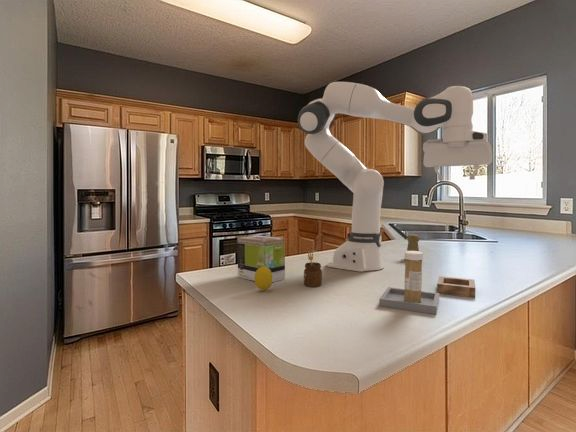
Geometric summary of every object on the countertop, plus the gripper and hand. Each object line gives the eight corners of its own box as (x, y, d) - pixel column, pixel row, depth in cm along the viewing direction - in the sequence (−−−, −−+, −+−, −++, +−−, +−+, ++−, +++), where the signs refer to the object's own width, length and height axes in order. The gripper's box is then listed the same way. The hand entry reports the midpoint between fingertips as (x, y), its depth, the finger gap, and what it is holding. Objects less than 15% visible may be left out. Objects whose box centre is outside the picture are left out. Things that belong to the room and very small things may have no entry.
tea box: (286, 279, 118) (285, 237, 117) (265, 285, 111) (264, 240, 109) (257, 272, 128) (257, 234, 127) (236, 277, 121) (236, 236, 120)
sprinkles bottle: (403, 297, 94) (404, 249, 93) (421, 298, 93) (422, 250, 92) (404, 302, 90) (405, 252, 89) (422, 304, 88) (423, 253, 87)
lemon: (254, 288, 106) (254, 264, 106) (272, 288, 107) (271, 263, 106) (254, 294, 101) (254, 268, 100) (272, 293, 101) (272, 267, 101)
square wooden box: (437, 292, 100) (437, 283, 100) (439, 284, 109) (439, 276, 109) (475, 297, 96) (475, 287, 95) (474, 288, 104) (474, 279, 104)
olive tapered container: (421, 260, 147) (421, 235, 146) (406, 259, 148) (407, 235, 147) (418, 257, 153) (419, 233, 152) (404, 257, 154) (405, 233, 153)
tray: (379, 306, 89) (379, 298, 89) (388, 293, 100) (388, 287, 100) (436, 314, 83) (436, 306, 83) (439, 300, 94) (439, 293, 93)
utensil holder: (323, 283, 112) (323, 247, 111) (319, 288, 106) (319, 251, 105) (306, 281, 114) (306, 246, 113) (301, 286, 108) (301, 250, 107)
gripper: (422, 138, 112) (421, 180, 113) (493, 133, 102) (491, 178, 103) (424, 141, 117) (423, 180, 118) (492, 136, 108) (490, 179, 109)
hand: (455, 179), depth 111 cm, fingers open, 8 cm apart
